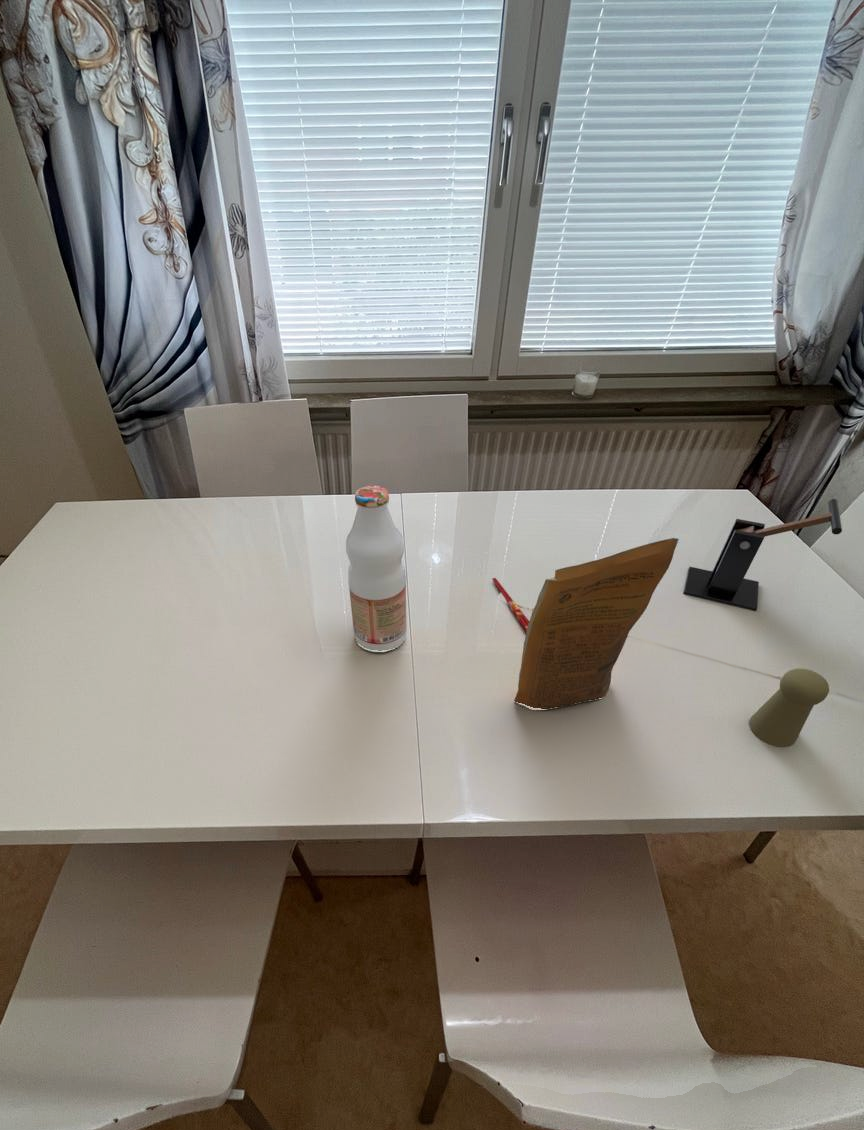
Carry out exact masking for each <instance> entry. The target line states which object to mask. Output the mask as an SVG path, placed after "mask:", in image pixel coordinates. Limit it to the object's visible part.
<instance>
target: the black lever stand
mask: <svg viewBox="0 0 864 1130" xmlns="http://www.w3.org/2000/svg"><path fill="white" fill-rule="evenodd" d="M751 526H754V529H755V531H756V530H761V529H765V527H766V524H765V523H761V522H757V521H751V520H746V519H740V518H735V521H734V523H733V525H732V527H731V530H730V532H729V533H728V536H727V538H726V541H725V542H724V544H723V547H722V549H721V551H720V554H719V556H718V558H717V560H716V562H715V564H714V567H713V569H712V570H708V569H702V568H698V567H694V566H688V569H687V572H686V573H687V574H686V579H685V584H684V588H683V595H686V596H690V597H693V598H699V599H703V600H705V601H706V600H707V601H710V602H716V603H719V604H723V605H728V606H732V607H736V608H740V609H745V610H748V611H753V612H757V610H758V606H759V604H758V603H759V581H758V580H753V579H748V578H745V577H746V575H747V573H748V571H749V569H750V567H751V565H752V563H753V561H754V559H755V557H756V555H757V553H758V551H759V549H760V547H761V545H762V544H763V541H764V540H765V537H764V535H761V534H755V533H750V532H745V531H740V530H739V529H743V528H747V527H751Z"/></svg>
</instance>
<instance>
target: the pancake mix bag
mask: <svg viewBox="0 0 864 1130" xmlns="http://www.w3.org/2000/svg"><path fill="white" fill-rule="evenodd" d="M679 540H680V539H679V538H676V537H671V538H667V539H666V538H665V539H662V540H658V541H653V542H649V543H646V544H643V545H640V546H639V545H638V546H636V547H633V548H629V549H626V550H624V551H623V550H622V551H621V552H618V553H615V554H611V555H609V556H606V557H602V558H599V559H595V560H591V561H587V562H583V563H580V564H575V565H571V566H570V565H569V566H566V567H562V568H558V569H554V570H555V571H554V577H549V578H546V579H545V581H544V582H543V585H542V588H541V590H540V592H539V594H538V597H537V600H536V604H535V605H534V608H533V609H532V612H531V616H530V617H529V624H528V627H527V630H526V631H525V638H524V642H523V648H522V653H521V654H522V655H521V663H520V669H519V673H518V683H517V684H518V685H517V692H516V695H515V697H514V700H513V702H514V701H515V702H518V703H522V704H525V705H527V706H530V707H533V708H541V709H550V708H555V707H560V708H562V707H561V706H565V707H567V706H566V705H570V706H572V705H571V704H574V705H576V704H575V703H579V702H583V703H585V702H584V701H589V700H595V699H599V698H602V697H603V696H604V695H605V694H606V693H607V694H608V692H607V691H609V689H610V686H611V681H612V671H613V669H614V666H615V665H616V662H617V661H618V659H619V657H620V654H621V652H622V650H623V648H624V646H625V644H626V641H627V639H628V635H629V633H630V631H631V630H632V628H633V627H634V626H635V625H636V623H637V622H638V621H639V620H640V619H641V617H642V615H643V614H644V613H645V611H646V610H647V608H648V606H649V604H650V602H651V600H652V597H653V595H654V592H655V590H656V589H657V587H658V586H659V584H660V582H661V581H662V579H663V577H664V576H665V574H666V573H667V571H668V570H669V568H670V566H671V563H672V561H673V558H674V554H675V550H676V548H677V546H678V542H679ZM607 694H606V695H607ZM606 695H605V696H606ZM605 696H604V697H605ZM604 697H603V698H604ZM603 698H602V699H603ZM595 701H596V700H595ZM589 702H590V701H589ZM579 704H580V703H579Z"/></svg>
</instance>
